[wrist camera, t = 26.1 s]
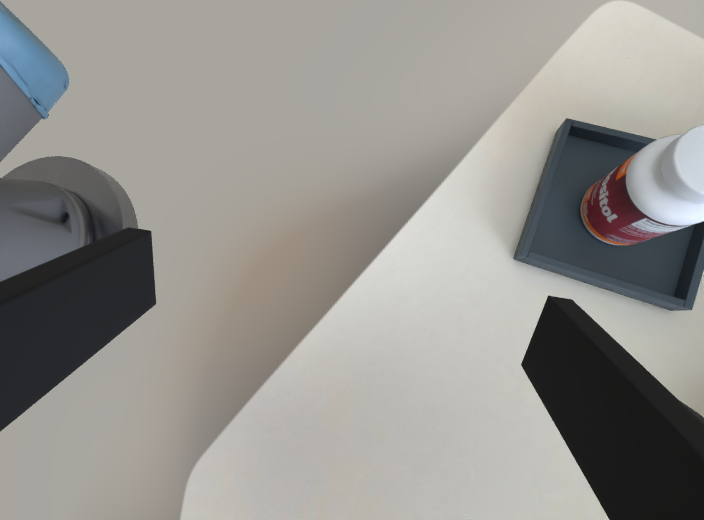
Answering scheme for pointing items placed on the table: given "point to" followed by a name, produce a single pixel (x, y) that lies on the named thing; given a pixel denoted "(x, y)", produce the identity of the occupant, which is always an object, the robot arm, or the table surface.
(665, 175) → the pill bottle
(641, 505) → the robot arm
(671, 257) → the tray
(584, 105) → the table surface
